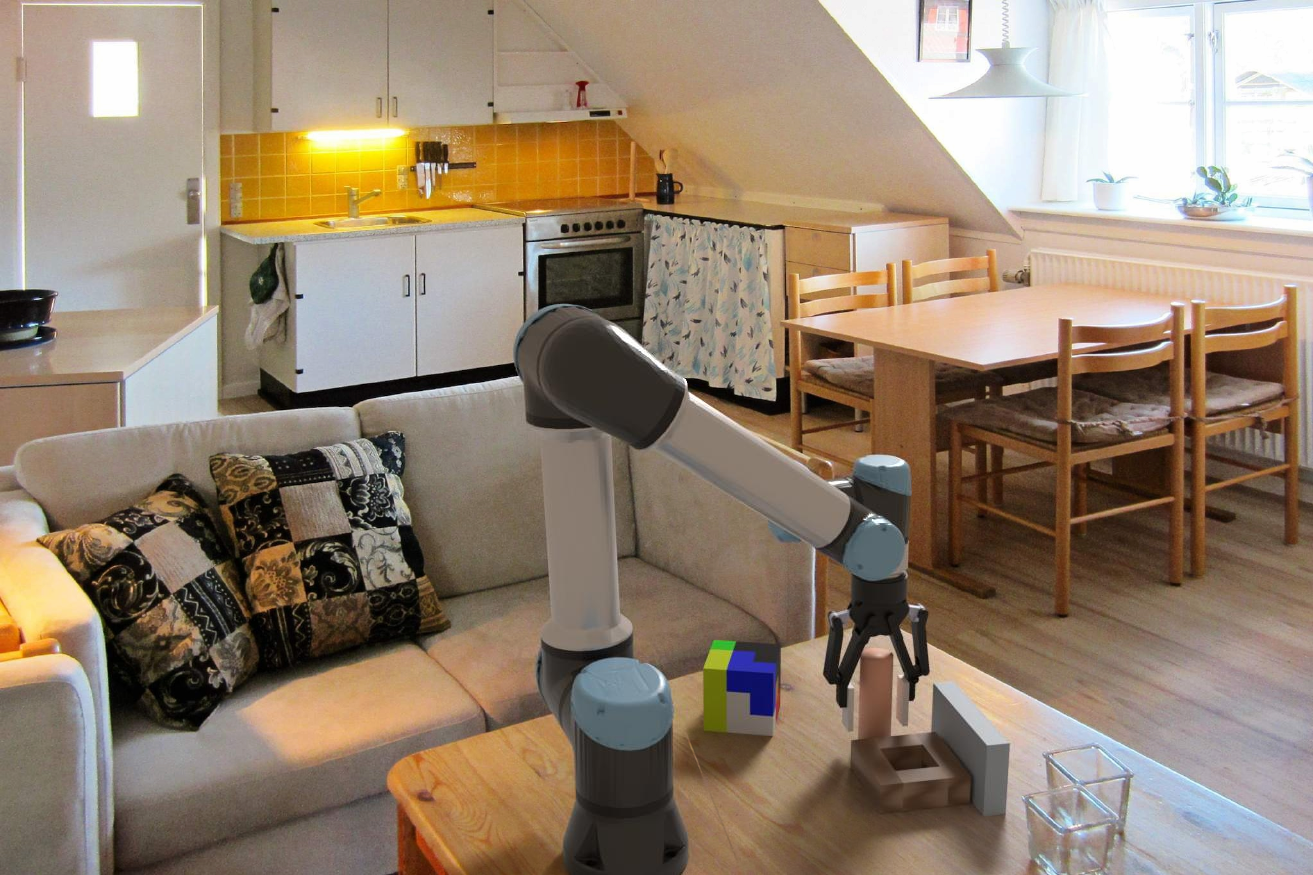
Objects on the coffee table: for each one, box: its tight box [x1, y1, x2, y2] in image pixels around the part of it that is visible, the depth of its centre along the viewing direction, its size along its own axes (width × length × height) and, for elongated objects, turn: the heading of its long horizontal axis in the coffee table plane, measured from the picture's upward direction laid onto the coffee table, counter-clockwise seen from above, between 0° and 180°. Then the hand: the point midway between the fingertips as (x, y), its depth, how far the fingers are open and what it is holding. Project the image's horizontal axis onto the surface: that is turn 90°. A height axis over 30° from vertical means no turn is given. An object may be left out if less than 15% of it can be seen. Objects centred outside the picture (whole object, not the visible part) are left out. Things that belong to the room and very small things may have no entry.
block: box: [849, 731, 971, 815], centre depth 169 cm, size 12×12×4 cm
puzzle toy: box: [702, 639, 782, 737], centre depth 188 cm, size 10×10×10 cm
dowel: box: [857, 647, 894, 739], centre depth 178 cm, size 4×4×14 cm
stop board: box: [930, 680, 1011, 817], centre depth 170 cm, size 3×18×10 cm, turn 9°
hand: (874, 724), depth 179 cm, fingers open, 7 cm apart
